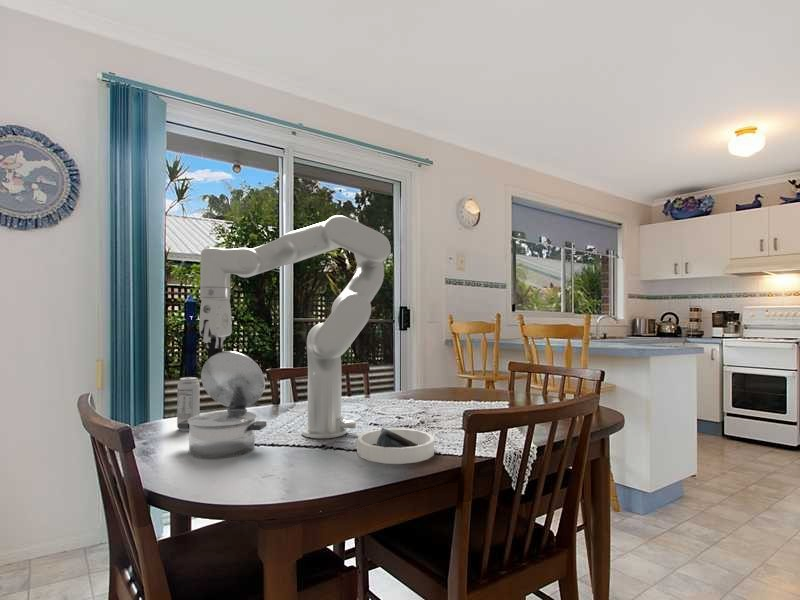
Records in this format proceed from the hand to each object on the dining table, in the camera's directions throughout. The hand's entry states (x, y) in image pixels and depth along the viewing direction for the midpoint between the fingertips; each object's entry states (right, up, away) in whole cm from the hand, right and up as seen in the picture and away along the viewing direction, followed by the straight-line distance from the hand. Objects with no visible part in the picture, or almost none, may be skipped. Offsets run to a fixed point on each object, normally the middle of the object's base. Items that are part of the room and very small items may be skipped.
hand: (214, 363), depth 133 cm
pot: (+4, -21, -7) cm, 23 cm away
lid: (+5, -5, -1) cm, 7 cm away
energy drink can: (-13, -22, +14) cm, 29 cm away
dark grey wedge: (+49, -22, -11) cm, 55 cm away
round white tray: (+49, -21, -8) cm, 54 cm away
